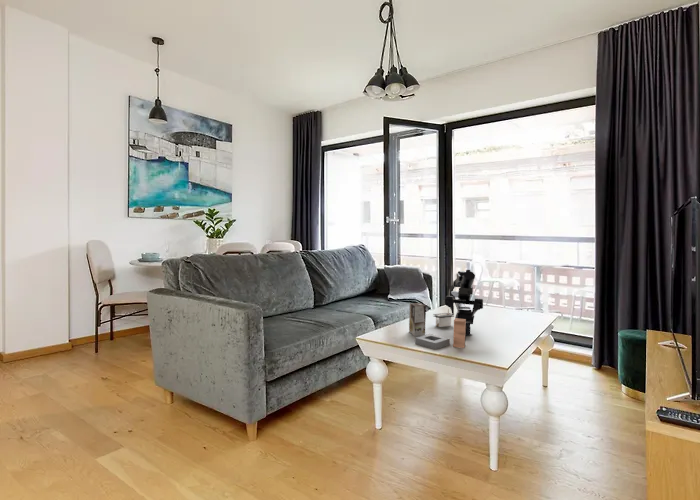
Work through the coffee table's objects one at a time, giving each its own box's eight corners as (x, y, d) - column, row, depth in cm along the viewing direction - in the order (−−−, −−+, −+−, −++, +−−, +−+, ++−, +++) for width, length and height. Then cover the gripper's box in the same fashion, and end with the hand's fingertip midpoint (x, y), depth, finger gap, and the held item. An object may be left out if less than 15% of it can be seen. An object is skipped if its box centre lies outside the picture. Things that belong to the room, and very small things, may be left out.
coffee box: (425, 335, 211) (426, 305, 211) (414, 336, 210) (414, 306, 210) (419, 331, 220) (420, 302, 220) (408, 331, 219) (409, 302, 218)
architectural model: (416, 324, 238) (416, 308, 237) (449, 321, 248) (450, 305, 248) (435, 332, 220) (436, 315, 220) (471, 328, 230) (472, 311, 230)
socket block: (429, 339, 205) (429, 333, 205) (449, 344, 196) (449, 338, 196) (415, 343, 197) (415, 337, 197) (435, 349, 188) (435, 343, 188)
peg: (454, 344, 197) (455, 318, 196) (465, 345, 195) (465, 319, 194) (453, 346, 193) (453, 320, 192) (463, 348, 191) (464, 321, 190)
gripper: (445, 280, 208) (441, 305, 198) (483, 282, 201) (481, 308, 191) (447, 293, 215) (443, 317, 206) (484, 295, 208) (481, 321, 199)
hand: (462, 315), depth 200 cm, fingers open, 9 cm apart
